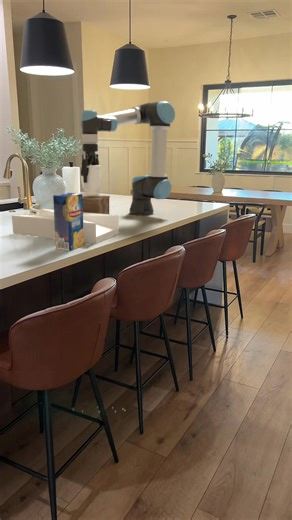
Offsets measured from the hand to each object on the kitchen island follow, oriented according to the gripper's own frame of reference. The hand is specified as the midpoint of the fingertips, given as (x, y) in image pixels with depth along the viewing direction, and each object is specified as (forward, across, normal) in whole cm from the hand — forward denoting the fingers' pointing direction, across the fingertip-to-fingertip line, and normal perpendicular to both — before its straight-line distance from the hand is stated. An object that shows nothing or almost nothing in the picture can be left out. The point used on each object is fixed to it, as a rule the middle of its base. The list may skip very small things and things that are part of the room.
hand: (91, 188), depth 210 cm
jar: (+4, 0, 0) cm, 4 cm away
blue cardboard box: (+20, +44, +11) cm, 50 cm away
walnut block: (+20, 0, 0) cm, 20 cm away
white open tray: (+20, +22, -3) cm, 30 cm away
